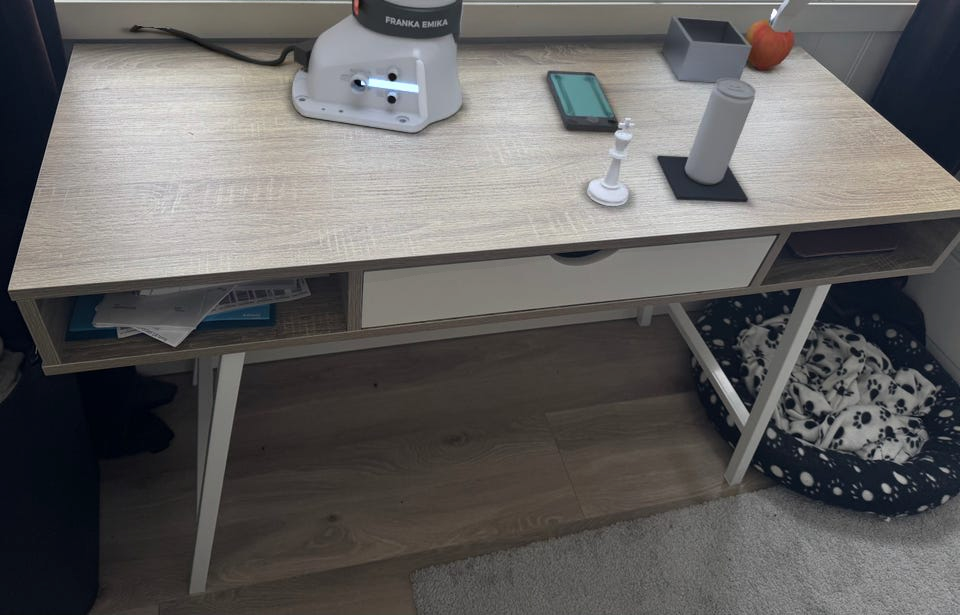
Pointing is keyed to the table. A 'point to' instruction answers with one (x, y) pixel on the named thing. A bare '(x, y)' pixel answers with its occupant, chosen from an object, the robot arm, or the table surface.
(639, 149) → the table surface
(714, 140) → the beverage can
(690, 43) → the holder
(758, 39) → the apple
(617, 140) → the chess piece
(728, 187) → the mat
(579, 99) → the smartphone
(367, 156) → the table surface
